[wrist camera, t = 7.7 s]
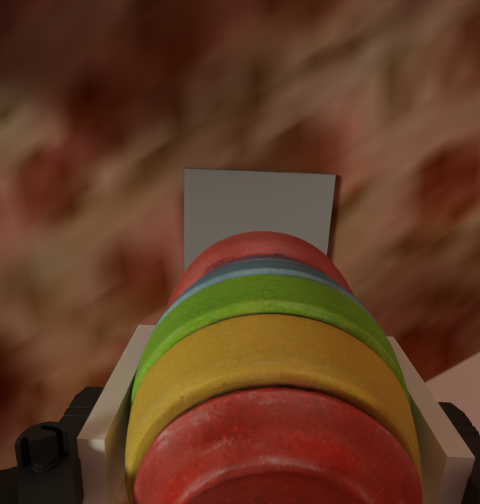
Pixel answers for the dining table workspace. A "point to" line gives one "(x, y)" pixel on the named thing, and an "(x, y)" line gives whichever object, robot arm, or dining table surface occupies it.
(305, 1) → the dining table surface
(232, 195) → the mat
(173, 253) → the dining table surface
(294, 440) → the stacking bear
